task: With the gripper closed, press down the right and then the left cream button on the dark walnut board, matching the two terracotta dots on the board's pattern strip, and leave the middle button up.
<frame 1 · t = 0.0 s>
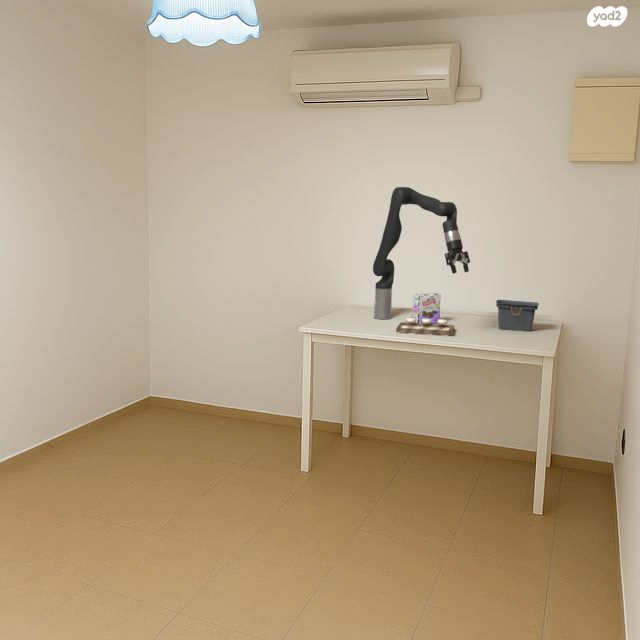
hand: (460, 272, 330), 31 cm above the table, tool tilted 20°, fingers open, 8 cm apart
middle button: (426, 320, 347), point 5 cm above the table, slide at 0.0 cm
left button: (410, 320, 348), point 5 cm above the table, slide at 0.0 cm
button board: (425, 331, 345), on the table
storage bin: (515, 329, 352), on the table
candy box: (425, 323, 367), on the table
right button: (442, 321, 345), point 5 cm above the table, slide at 0.0 cm
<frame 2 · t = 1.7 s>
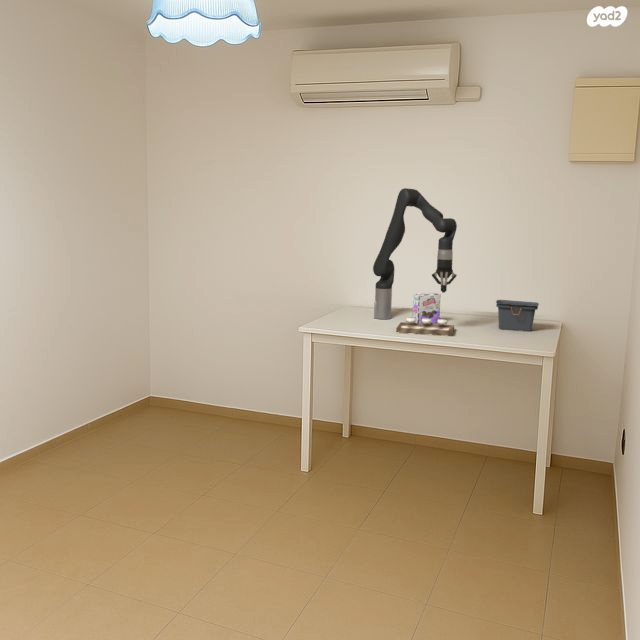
hand: (443, 292, 342), 20 cm above the table, tool pointing down, fingers closed
nothing on the table moved.
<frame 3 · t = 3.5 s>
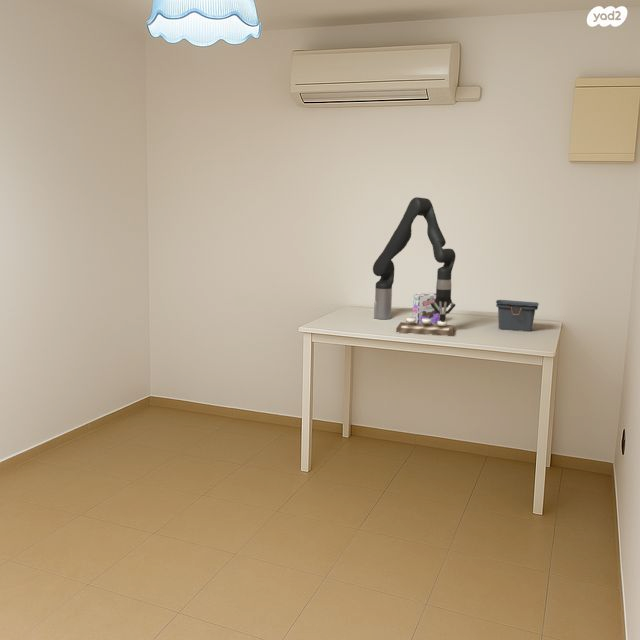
hand: (442, 321, 345), 5 cm above the table, tool pointing down, fingers closed
right button: (442, 323, 345), point 4 cm above the table, slide at 0.8 cm, touching gripper
everything else where it was.
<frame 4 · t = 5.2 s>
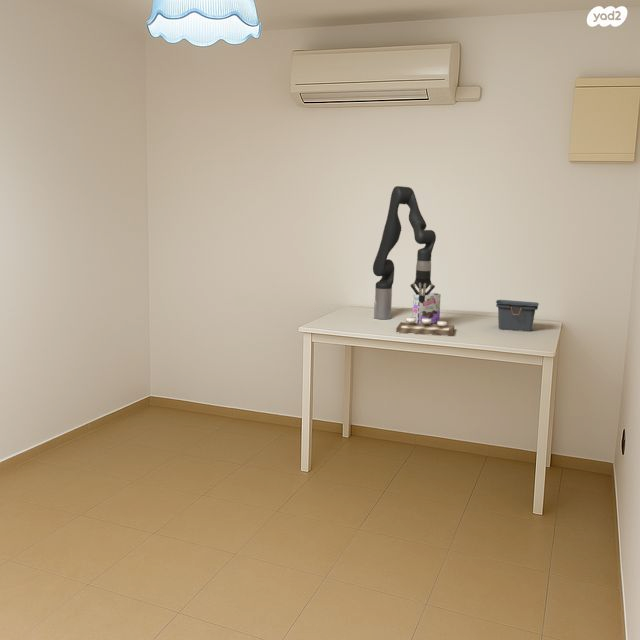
hand: (421, 302, 346), 14 cm above the table, tool pointing down, fingers closed
right button: (442, 323, 345), point 4 cm above the table, slide at 1.0 cm
everything else where it was.
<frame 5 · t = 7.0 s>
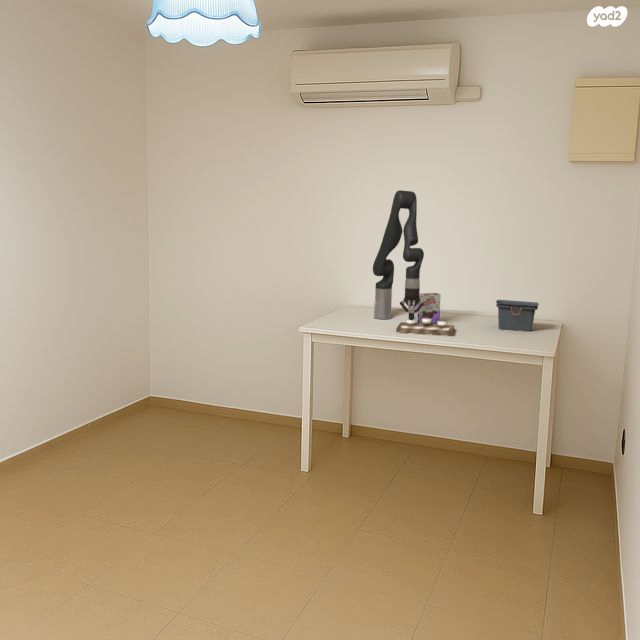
hand: (411, 320, 348), 5 cm above the table, tool pointing down, fingers closed
left button: (410, 321, 349), point 4 cm above the table, slide at 0.9 cm, touching gripper
everything else where it was.
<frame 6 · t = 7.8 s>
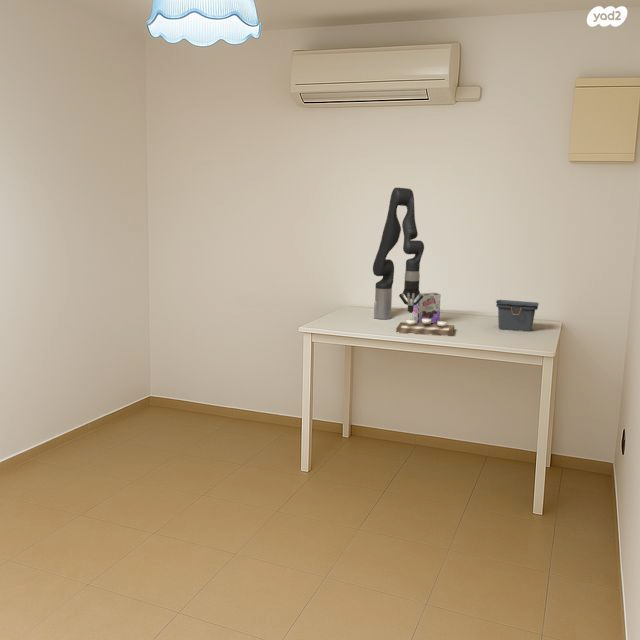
hand: (410, 312, 348), 9 cm above the table, tool pointing down, fingers closed
left button: (410, 322, 349), point 4 cm above the table, slide at 1.0 cm
everything else where it was.
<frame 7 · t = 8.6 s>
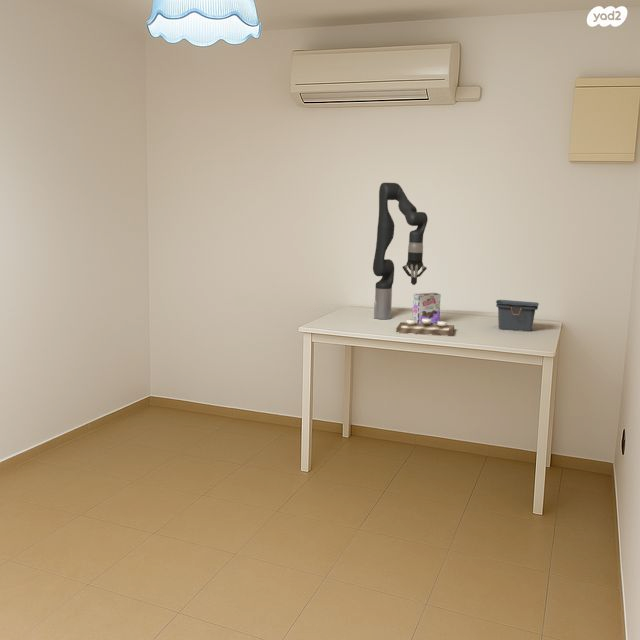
hand: (413, 284, 348), 23 cm above the table, tool pointing down, fingers closed
nothing on the table moved.
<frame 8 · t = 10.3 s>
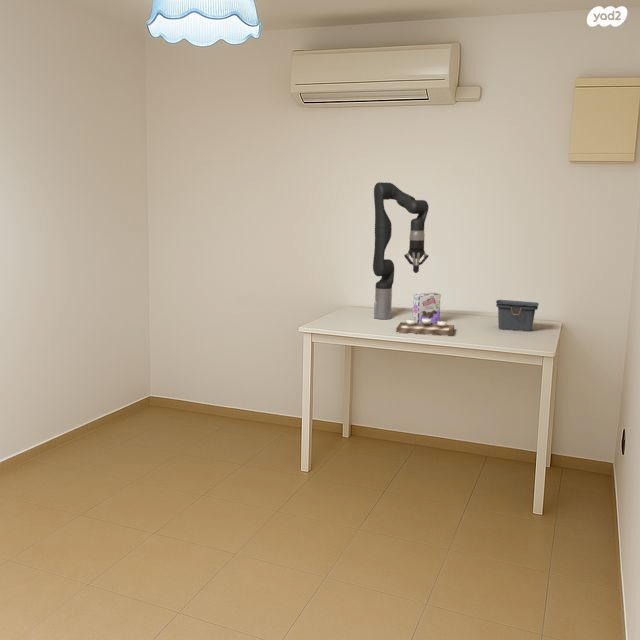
hand: (415, 272, 350), 29 cm above the table, tool pointing down, fingers closed
nothing on the table moved.
at the end: right button slide at 1.0 cm; left button slide at 1.0 cm; middle button slide at 0.0 cm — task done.
